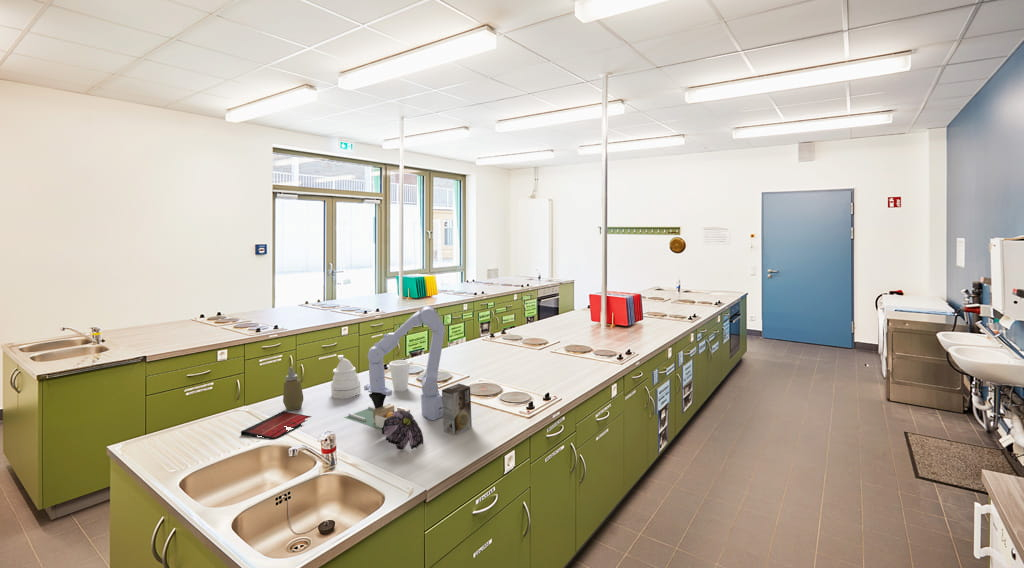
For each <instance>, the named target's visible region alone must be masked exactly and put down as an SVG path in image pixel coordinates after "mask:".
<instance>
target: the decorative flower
mask: <svg viewBox="0 0 1024 568" xmlns="http://www.w3.org/2000/svg"><path fill="white" fill-rule="evenodd" d="M394 411H395V410H394ZM392 415H394V416H391V417H388V418H387V419H386V420H385V421H384V425H383V428H382V430H381V434H382V435H384V436H385V435H386V437H385V441H387V442H388V444H389V443H390V444H391V445H392V444H393V445H395V446H396V450H400V451H402V450H404V449H405V448H406V447H407V446H408V444H409V446H410V448H411V450H413V449H414V448H416V449H417V447H419V446H420V445H421V444H422V445H424V435H423V432H422V429H421V427H420V426H419V424H418V422H417V420H416V419H414V415H413V414H411V412H410V413H409V412H407V411H403V410H400V411H397V410H396V411H395V412H393V413H392Z"/></svg>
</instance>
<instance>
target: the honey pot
mask: <svg viewBox="0 0 1024 568" xmlns="http://www.w3.org/2000/svg"><path fill="white" fill-rule="evenodd" d="M337 359H338V360H339V362H338V364H337V366H336V368H334V369H333V370H332V373H334V374H333V376H332V382H331V384H330V386H331V388H330V389H331V397H332V396H333V397H332V398H334V397H335V399H347V398H346V397H350V398H352V397H351V396H354V395H357V394H358V393H360V392H361V393H362V391H361V390H362V389H361V380H360V379H359V376H358V373H357V371H356V370H357V369H356V367H355V366H353V363H352V362H351V361H350V360H348V359H347V358H344V354H340V355H339V354H338V355H337ZM361 393H360V394H361ZM357 396H358V395H357ZM354 397H355V396H354Z"/></svg>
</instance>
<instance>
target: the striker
mask: <svg viewBox="0 0 1024 568" xmlns="http://www.w3.org/2000/svg"><path fill="white" fill-rule="evenodd" d="M389 412H395V405H394V404H391V403H388V404H386V405H383V406H382V407H380V408H377V409H374V410H373V422H374V423H375V416H376V415H378V416H381V417H384V418H386V416H387V414H388V413H389Z"/></svg>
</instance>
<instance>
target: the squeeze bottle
mask: <svg viewBox="0 0 1024 568" xmlns="http://www.w3.org/2000/svg"><path fill="white" fill-rule="evenodd" d="M298 377H299V376H298V373H297V374H296V373H295V371H294V367H293V366H290V367H289V368H288V374H287V375H286V376H285V381H283V393H282V394H283V396H282V397H283V398H282V403H283V405H284V408H285V409H286V411H297V410H299V409H301V408H302V406H303V403H304V398H305V397H304V393H303V387H302V382H301V379H299V378H298Z"/></svg>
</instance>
